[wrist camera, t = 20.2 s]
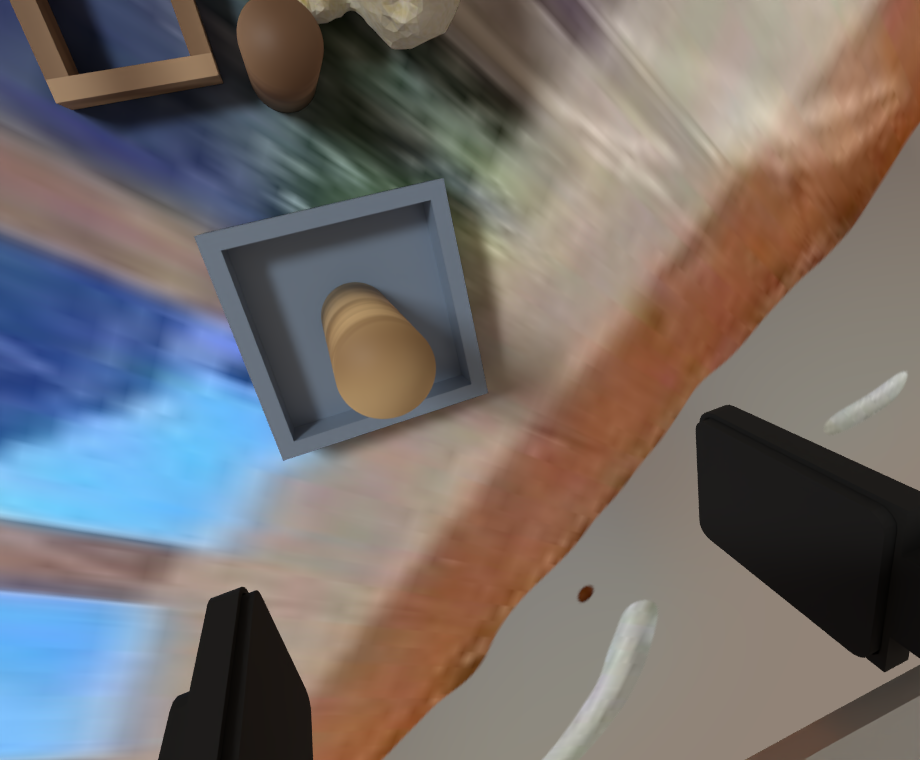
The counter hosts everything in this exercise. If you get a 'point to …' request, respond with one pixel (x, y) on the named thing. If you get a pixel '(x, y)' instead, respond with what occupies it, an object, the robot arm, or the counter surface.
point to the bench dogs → (281, 52)
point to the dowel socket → (119, 81)
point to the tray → (315, 276)
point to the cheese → (392, 17)
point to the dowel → (375, 353)
